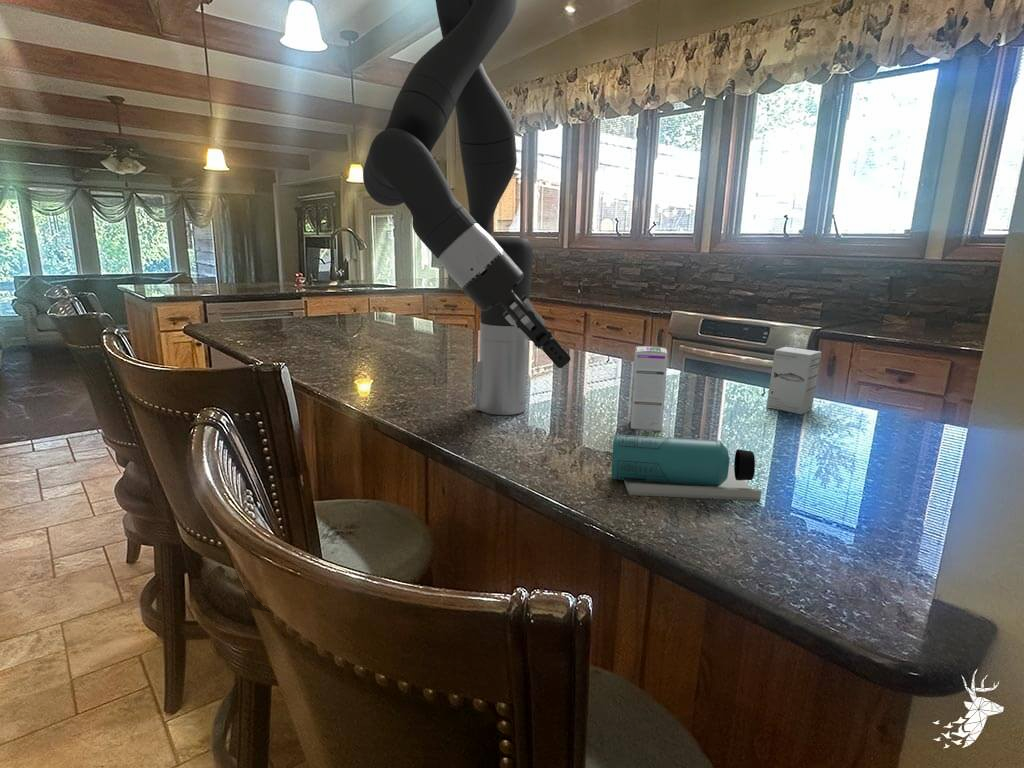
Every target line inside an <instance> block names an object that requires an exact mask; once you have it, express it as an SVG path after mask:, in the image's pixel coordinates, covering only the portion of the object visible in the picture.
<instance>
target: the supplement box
mask: <svg viewBox="0 0 1024 768" xmlns="http://www.w3.org/2000/svg"><path fill="white" fill-rule="evenodd" d="M773 353H774V354H773V361H772V367H771V374H770V382H769V387H768V395H767V400H766V408H767V409H773V410H774V409H775V410H778V411H783V412H789V413H793V414H797V415H800V416H803V415H804V414H806V413H807V412H809V411H810V410H812V409H813V406H814V405H813V404H814V399H815V394H816V392H815V391H816V387H817V381H818V375H819V370H820V363H821V358H822V353H823V352H822V351H820V350H819V351H818V350H811V349H806V348H805V349H804V348H797V347H790V346H784V347H780V348H777V349H774V352H773Z"/></svg>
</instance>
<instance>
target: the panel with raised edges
mask: <svg viewBox="0 0 1024 768" xmlns="http://www.w3.org/2000/svg"><path fill="white" fill-rule="evenodd" d="M730 459H731V457H730V456H729V462H730V461H731V460H730ZM623 481H624V485H625V487H626V490H627V492H628V495H629V496H640V497H642V496H644V497H645V496H646V497H647V496H648V497H663V496H664V497H666V496H667V497H666V498H687V499H707V500H709V498H710V499H712V498H713V499H714V500H729V501H730V500H732V499H733V501H734V499H735V501H753V500H755V502H757V501H758V502H759V501H761V497H762V489H760V488H752V487H751V486H750V485H749V483H747V482H746V481H747V480H736V479H735V473H734V466H732V465H731V464H730V463H729V470H728V476H727V479H726V480H725V481H724V482H723V483H722V484H721V485H720V486H718V487H714V486H705V485H691V484H674V485H673V484H672V483H659V482H655V483H654V482H652V483H651V482H646V481H632V480H623ZM630 481H631V482H630ZM643 482H645V483H643ZM656 483H657V484H656ZM713 499H712V500H713ZM756 500H757V501H756Z"/></svg>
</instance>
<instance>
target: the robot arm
mask: <svg viewBox="0 0 1024 768" xmlns="http://www.w3.org/2000/svg"><path fill="white" fill-rule="evenodd" d="M518 1H519V0H435V7H436V13H437V18H438V24H439V27H440V32H441V36H442V38H441V39H440V40H439V41H438V42H437V43H435V45H433V46H432V47H431V48H429V50H428V51H427V52H425V53H424V54H423V55H422V56H421V57H420V58H419V60H418V61H416V63H414V65H413V67H412V68H411V70H410V71H409V73H408V75H407V77H406V78H405V81H404V83H403V85H402V87H401V89H400V90H399V93H398V95H397V96H396V99H395V101H394V102H393V103H394V104H393V106H392V109H391V112H390V116H389V118H388V122H387V124H386V126H385V129H383V130H381V131H380V132H379V133H377V135H376V136H375V137H374V138H373V140H372V142H371V144H370V148H369V150H368V154H367V157H366V161H365V163H364V167H363V171H362V180H363V184H364V188H365V191H366V192H367V194H368V195H369V196H370V198H371V199H372V200H374V201H375V202H376V203H379V204H380V205H383V206H387V207H396V206H400V205H402V204H404V205H405V206H406V207H407V209H408V210H409V211H410V214H411V220H412V221H411V222H412V223H411V224H412V228H413V231H414V233H415V235H416V236H417V237H418V238H419V240H420V241H421V242H422V243H423V244H424V245H425V247H426V248H427V249H428V250H429V251H430V252H431V253H432V255H434V257H435V258H436V259H438V261H439V262H440V264H441V265H442V266H443V268H444V269H445V271H446V272H447V274H448V275H449V276H450V278H452V279H453V281H454V282H455V283H456V284H457V285H458V286H459V288H461V290H462V291H463V292H464V293H465V294H466V295H467V297H468V298H469V299H470V300H471V301H472V302H473V303H474V304H475V305H476V306H477V307H478V309H479V310H480V321H479V322H480V332H479V333H480V335H479V336H480V337H479V338H480V339H479V340H480V341H479V361H477V362H476V363H475V403H474V404H475V405H474V408H475V410H476V411H480V412H482V413H486V414H490V415H495V416H496V415H498V416H509V415H510V416H511V415H517V414H518V415H519V414H521V413H523V412H525V411H526V402H527V398H526V395H527V394H526V392H527V375H528V373H527V369H528V345H529V343H528V340H530V341H531V342H532V343H533V345H534V346H535V348H538V349H540V350H541V351H542V352H544V354H545V355H547V357H548V358H549V360H551V361H552V363H553V364H554V365H555V366H556V367H557V368H558V369H562V368H564V367H565V366H566V365H567V364H568V363H570V361H571V356H570V355H569V354H568V352H566V350H565V349H564V348H563V347H562V345H561V344H559V342H558V341H557V339H556V338H555V337H554V334H553V333H552V331H550V330H549V328H548V326H546V320H544V318H543V317H542V316H541V315H540V314H539V313H538V311H536V309H535V308H534V304H533V303H532V302H531V301H530V300H531V299H530V298H531V287H532V286H531V285H532V283H531V282H532V274H533V263H534V261H533V260H534V257H533V254H534V253H533V248H532V243H531V241H530V240H529V239H527V238H526V237H515V236H514V237H511V236H494V235H493V229H492V228H493V227H492V225H493V224H492V223H493V217H494V214H495V212H496V209H497V206H498V204H499V202H500V200H501V198H502V197H503V195H504V193H505V191H506V190H507V187H508V186H509V183H510V182H511V181H512V178H513V176H514V174H515V171H516V168H517V167H516V166H517V164H518V163H517V160H518V158H517V145H516V134H515V133H516V132H515V123H514V120H513V117H512V115H511V112H510V110H509V109H508V107H507V105H506V104H505V101H504V100H503V98H502V97H501V95H500V94H499V92H498V90H497V89H496V87H495V86H494V84H493V83H492V81H491V80H490V78H489V76H488V74H487V71H486V70H485V68H484V65H483V61H484V60H485V58H486V57H488V54H489V53H490V52H491V50H492V48H493V47H494V46H495V44H496V43H497V42H498V40H499V39H500V37H501V36H502V35H503V34H504V32H505V31H506V29H507V28H508V26H509V25H510V23H511V22H512V20H513V17H514V15H515V13H516V11H517V7H518V4H519V3H518ZM454 108H455V113H456V121H457V131H458V140H459V141H458V143H459V148H460V156H461V163H462V169H463V175H464V181H465V188H466V195H467V203H468V210H469V211H468V210H467V209H466V208H465V207H464V205H463V204H462V203H461V202H459V200H458V199H457V198H456V197H455V195H454V193H453V191H452V188H451V186H450V185H449V183H448V181H447V180H446V178H445V176H444V174H443V172H442V170H441V168H440V167H439V165H438V163H437V162H436V160H435V158H434V157H433V156H432V154H431V152H432V150H433V148H434V147H435V145H436V143H437V141H439V139H440V138H441V135H442V133H443V132H444V130H445V128H446V126H447V124H448V122H449V119H450V118H451V115H452V113H453V111H454Z"/></svg>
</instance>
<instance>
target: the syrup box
mask: <svg viewBox="0 0 1024 768" xmlns="http://www.w3.org/2000/svg"><path fill="white" fill-rule="evenodd" d="M633 363H634V364H633V377H632V390H631V391H632V392H631V397H632V398H631V406H630V407H631V409H630V411H631V412H630V429H633V430H639V431H651V432H653V431H654V432H662V430H663V423H664V412H665V398H666V387H667V386H666V385H667V372H668V371H667V370H668V369H667V368H668V350H667V348H666V347H660V346H646V345H645V346H643V345H642V346H635V350H634V362H633Z"/></svg>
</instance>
